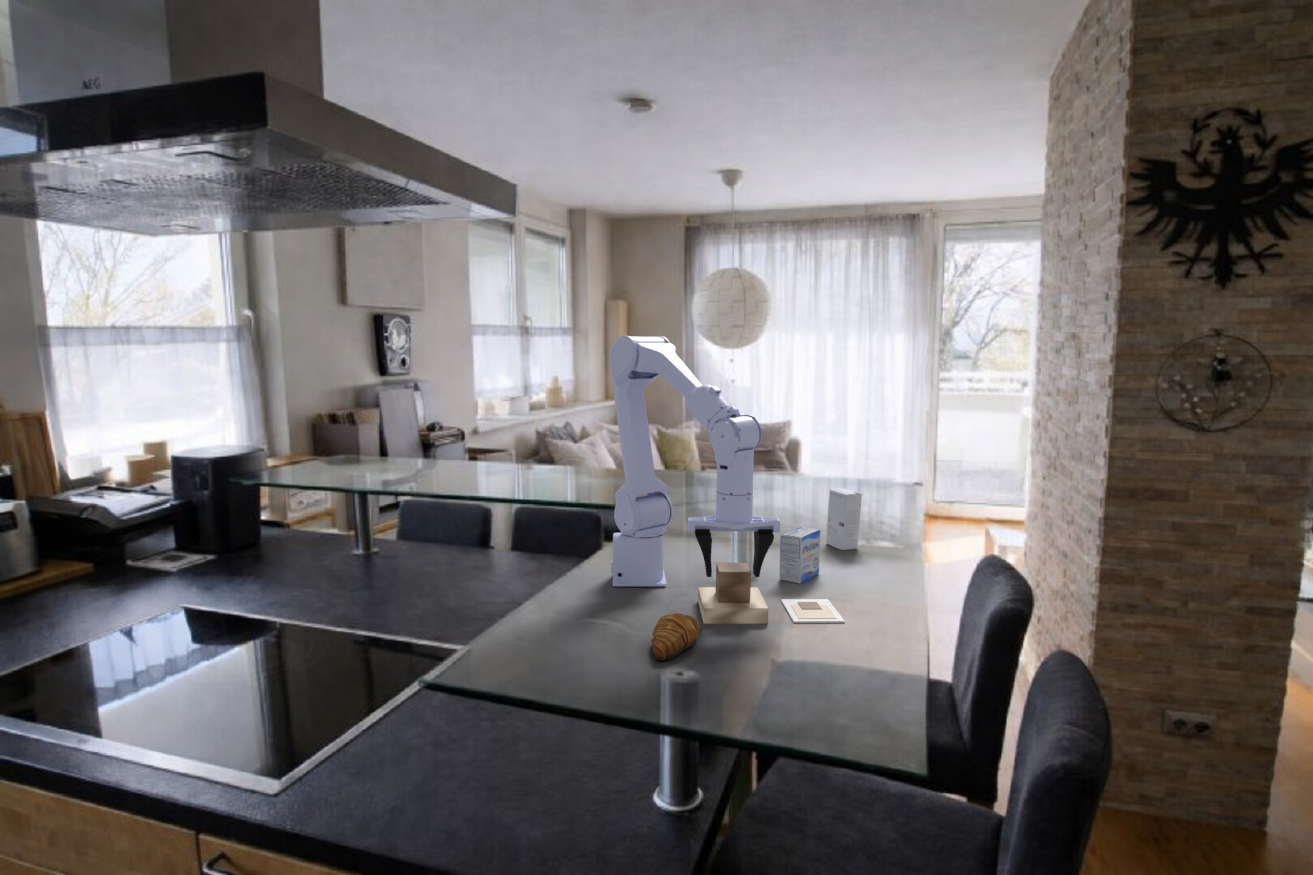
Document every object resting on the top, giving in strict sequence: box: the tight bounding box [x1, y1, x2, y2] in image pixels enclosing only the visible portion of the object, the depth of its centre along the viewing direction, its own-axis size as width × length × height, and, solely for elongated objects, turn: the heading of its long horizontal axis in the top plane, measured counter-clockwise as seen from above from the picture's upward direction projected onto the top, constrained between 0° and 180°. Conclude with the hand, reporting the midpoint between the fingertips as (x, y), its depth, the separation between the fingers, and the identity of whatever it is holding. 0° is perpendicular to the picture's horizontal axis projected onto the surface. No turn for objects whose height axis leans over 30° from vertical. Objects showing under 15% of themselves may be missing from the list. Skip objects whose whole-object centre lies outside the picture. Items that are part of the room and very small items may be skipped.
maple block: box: [697, 586, 769, 625], centre depth 122 cm, size 10×10×3 cm
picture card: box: [780, 598, 846, 624], centre depth 122 cm, size 8×10×1 cm
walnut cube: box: [715, 561, 752, 603], centre depth 121 cm, size 5×5×5 cm
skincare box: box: [825, 487, 863, 551], centre depth 161 cm, size 6×4×12 cm
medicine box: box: [779, 526, 821, 585], centre depth 139 cm, size 8×4×9 cm, turn 143°
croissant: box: [651, 612, 701, 662], centre depth 108 cm, size 14×7×5 cm, turn 157°
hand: (732, 575), depth 121 cm, fingers open, 7 cm apart
